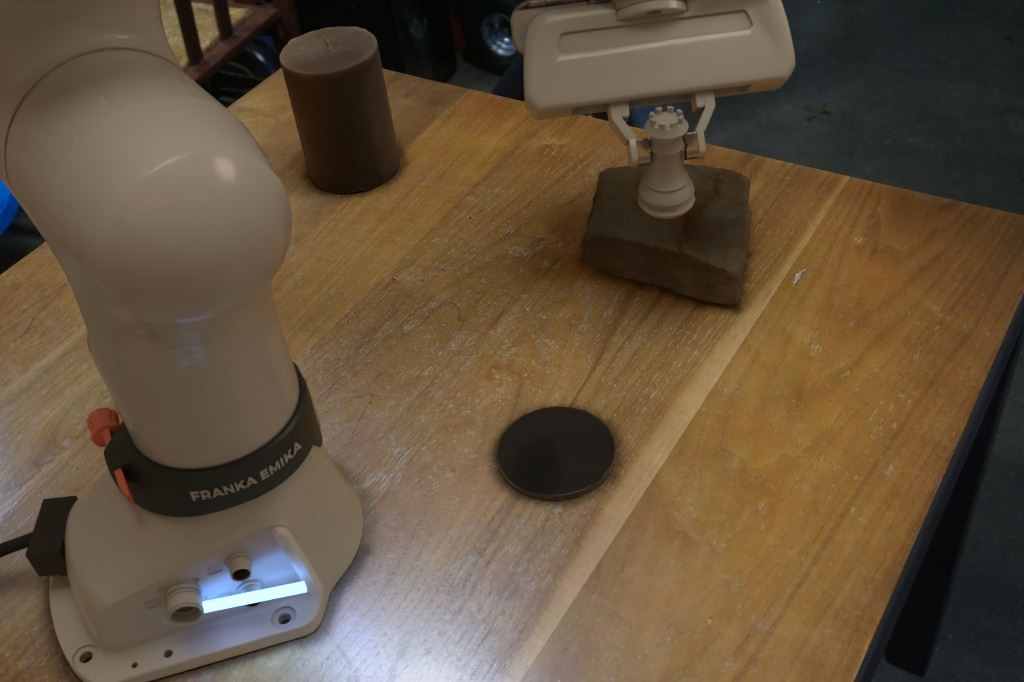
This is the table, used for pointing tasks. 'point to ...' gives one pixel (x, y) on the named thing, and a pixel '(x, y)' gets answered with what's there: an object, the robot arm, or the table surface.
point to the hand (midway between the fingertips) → (668, 161)
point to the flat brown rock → (673, 234)
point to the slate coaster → (556, 453)
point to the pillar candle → (341, 108)
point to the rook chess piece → (666, 167)
